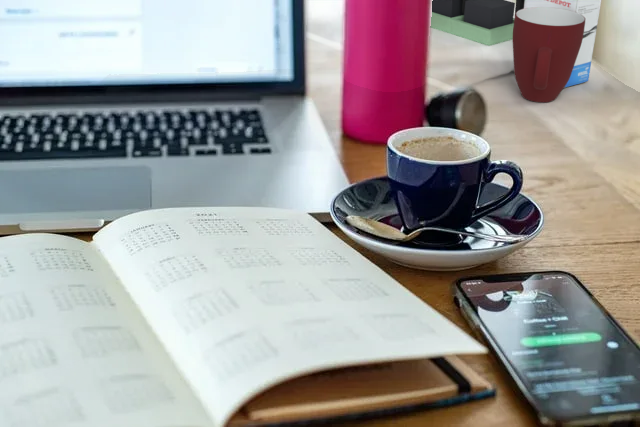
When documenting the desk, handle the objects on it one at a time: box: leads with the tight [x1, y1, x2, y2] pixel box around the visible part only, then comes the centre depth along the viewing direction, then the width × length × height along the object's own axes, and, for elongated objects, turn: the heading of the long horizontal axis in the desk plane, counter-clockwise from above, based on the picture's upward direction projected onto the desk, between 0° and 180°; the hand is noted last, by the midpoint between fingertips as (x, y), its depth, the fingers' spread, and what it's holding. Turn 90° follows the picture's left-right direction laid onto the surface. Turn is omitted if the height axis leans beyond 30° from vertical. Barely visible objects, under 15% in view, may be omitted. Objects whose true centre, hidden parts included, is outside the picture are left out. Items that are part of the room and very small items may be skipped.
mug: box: [512, 7, 585, 103], centre depth 104 cm, size 10×8×10 cm
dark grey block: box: [464, 0, 516, 30], centre depth 127 cm, size 5×5×4 cm
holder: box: [430, 12, 515, 47], centre depth 131 cm, size 15×8×3 cm, turn 40°
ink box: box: [524, 0, 602, 89], centre depth 111 cm, size 8×5×12 cm, turn 34°
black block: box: [432, 0, 464, 18], centre depth 132 cm, size 5×5×4 cm
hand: (496, 18), depth 126 cm, fingers open, 9 cm apart
